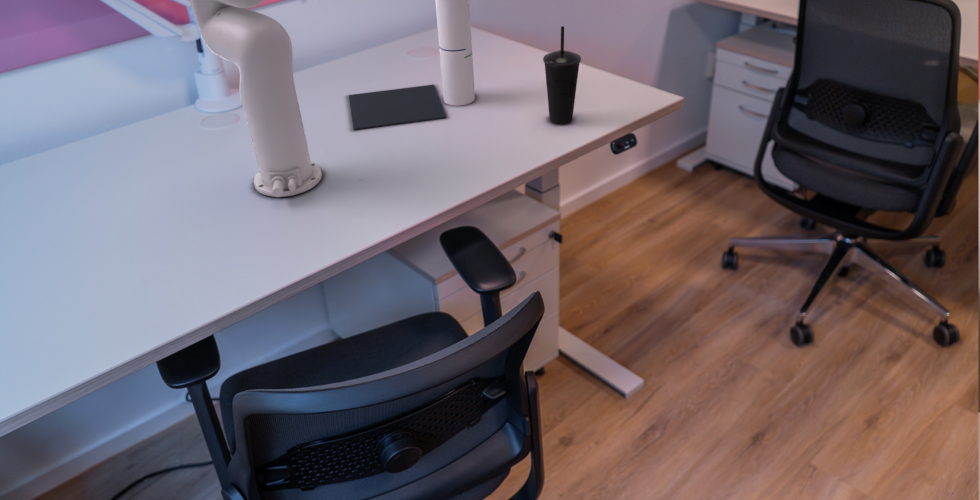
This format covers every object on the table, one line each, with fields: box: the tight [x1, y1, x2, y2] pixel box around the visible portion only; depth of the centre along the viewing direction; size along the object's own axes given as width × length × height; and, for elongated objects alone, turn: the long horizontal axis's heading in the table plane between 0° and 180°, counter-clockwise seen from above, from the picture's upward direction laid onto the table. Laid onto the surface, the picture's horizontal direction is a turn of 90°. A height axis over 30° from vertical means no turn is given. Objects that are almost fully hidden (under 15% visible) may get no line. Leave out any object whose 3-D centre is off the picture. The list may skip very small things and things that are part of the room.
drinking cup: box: [542, 25, 582, 126], centre depth 149 cm, size 8×8×20 cm
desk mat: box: [348, 84, 447, 131], centre depth 164 cm, size 18×20×1 cm
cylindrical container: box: [434, 0, 476, 107], centre depth 159 cm, size 7×7×25 cm
